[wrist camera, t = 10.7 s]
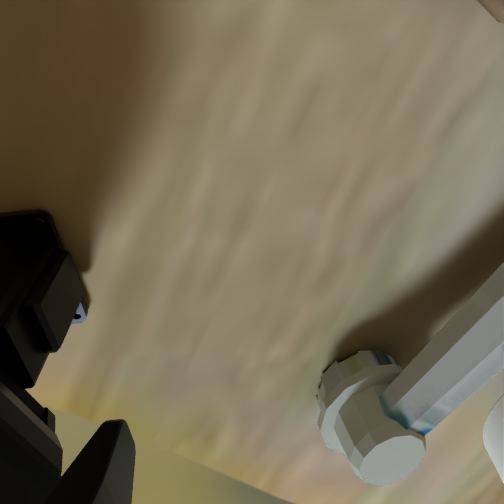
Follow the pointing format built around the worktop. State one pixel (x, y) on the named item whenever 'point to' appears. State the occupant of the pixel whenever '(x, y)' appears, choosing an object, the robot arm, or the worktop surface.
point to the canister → (495, 436)
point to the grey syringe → (411, 389)
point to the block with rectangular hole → (494, 8)
